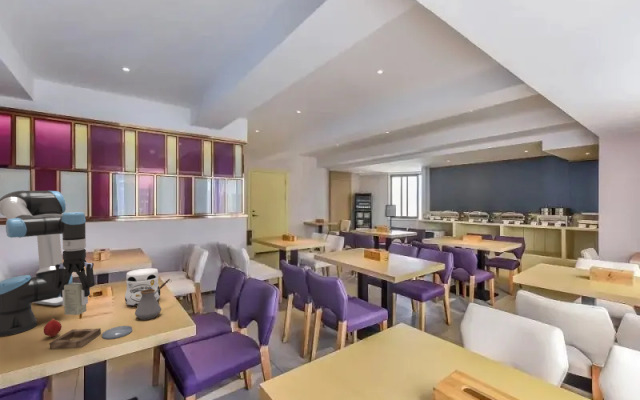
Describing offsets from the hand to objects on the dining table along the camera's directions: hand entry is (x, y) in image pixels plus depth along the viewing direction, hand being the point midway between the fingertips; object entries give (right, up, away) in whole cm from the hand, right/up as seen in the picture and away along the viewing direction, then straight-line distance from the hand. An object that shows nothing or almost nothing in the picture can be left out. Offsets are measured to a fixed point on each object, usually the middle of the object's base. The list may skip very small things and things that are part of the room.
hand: (75, 304), depth 127 cm
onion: (-13, -16, +4) cm, 21 cm away
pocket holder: (0, -15, 0) cm, 15 cm away
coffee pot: (+17, -15, +30) cm, 38 cm away
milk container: (+2, -15, +45) cm, 48 cm away
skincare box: (0, -4, 0) cm, 4 cm away
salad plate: (-49, -16, +52) cm, 73 cm away
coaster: (+13, -15, +7) cm, 21 cm away
